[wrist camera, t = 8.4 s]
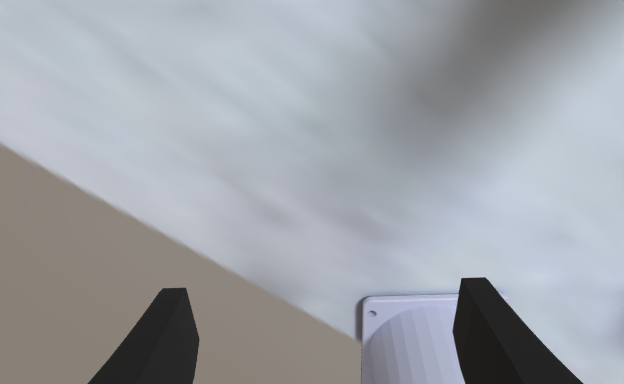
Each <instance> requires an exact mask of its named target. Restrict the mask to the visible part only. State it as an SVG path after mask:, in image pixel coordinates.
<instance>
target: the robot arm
mask: <svg viewBox="0 0 624 384" xmlns="http://www.w3.org/2000/svg"><path fill="white" fill-rule="evenodd" d="M509 303H510V302H509V298H508V296H507V295H506V294H505V293H498V291H497V290H496V289H495V288H494V287H493V285H492V284H491V283H490V282H489V281H488V280H487V279H486V278H485V277H484V278H461V284H460V290H459V294H439V295H408V296H377V297H368V298H366V299H365V300H364V301H363V312H362V364H361V366H362V368H361V384H583V383H582V382H581V381H580V380H579V379H578V378H577V377H576V376H575V375H574V374H573V373H572V372H571V371H570V370H569V369H568V368H567V367H566V366H565V365H564V364H563V363H562V362H561V361H560V360H558V358H557V357H556V356H555V355H554V354H553V353H552V352H551V351H550V350H549V349H548V348H547V347H546V346H545V345H544V344H543V343H542V342H541V341H540V340H539V338H538V337H537V336H536V335H535V334H534V333H533V332H532V331H531V330H530V329H529V328H528V327H527V325H526V324H525V323H524V322H523V321H522V320H521V319H520V317H519V316H518V315H517V314H516V313H515V312H514V310H513V309H512V308H511V307H510V306H509ZM369 311H374V312H369ZM198 346H199V336H198V332H197V328H196V324H195V320H194V317H193V313H192V309H191V305H190V301H189V298H188V294H187V290H186V288H163V289H162V290H161V291H160V292H159V293H158V295H157V296H156V298H155V299H154V300H153V302H152V303H151V305H150V306H149V307H148V309H147V310H146V312H145V313H144V314H143V316H142V317H141V318H140V320H139V321H138V322H137V324H136V325H135V326H134V328H133V329H132V330H131V332H130V333H129V334H128V336H127V337H126V338H125V339H124V341H123V342H122V343H121V344H120V346H119V347H118V348H117V350H116V351H115V352H114V353H113V355H112V356H111V357H110V359H109V360H108V361H107V362H106V363H105V364H104V365H103V367H102V368H101V369H100V370H99V371H98V372H97V373H96V375H95V376H94V377H93V378H92V379H91V381H90V382H89V383H88V384H192V383H193V379H194V375H195V368H196V361H197V354H198Z"/></svg>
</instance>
